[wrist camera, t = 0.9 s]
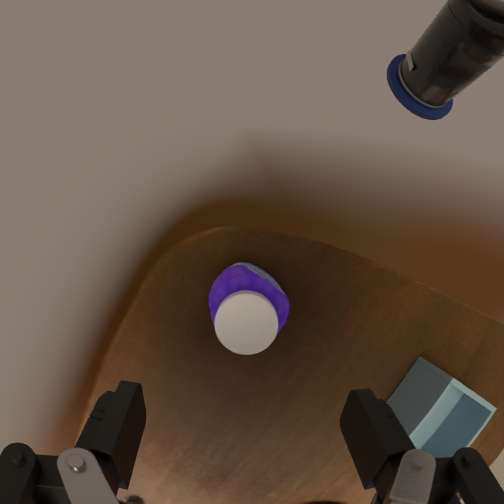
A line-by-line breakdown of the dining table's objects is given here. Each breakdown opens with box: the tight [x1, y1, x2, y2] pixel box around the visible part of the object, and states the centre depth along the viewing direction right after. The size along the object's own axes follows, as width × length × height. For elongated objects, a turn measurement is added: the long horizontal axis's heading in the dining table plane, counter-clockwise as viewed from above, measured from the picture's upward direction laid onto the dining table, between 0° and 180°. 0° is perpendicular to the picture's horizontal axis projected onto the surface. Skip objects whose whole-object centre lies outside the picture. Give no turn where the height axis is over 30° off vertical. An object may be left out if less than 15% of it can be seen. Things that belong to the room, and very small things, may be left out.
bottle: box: [209, 262, 289, 355], centre depth 27 cm, size 7×6×17 cm
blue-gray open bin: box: [386, 356, 497, 458], centre depth 31 cm, size 14×14×9 cm
